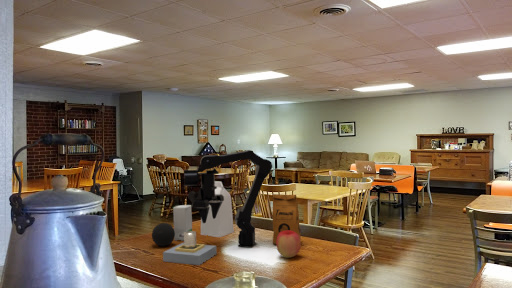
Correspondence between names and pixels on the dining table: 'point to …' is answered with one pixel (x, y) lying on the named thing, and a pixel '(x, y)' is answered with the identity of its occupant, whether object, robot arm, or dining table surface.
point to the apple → (288, 243)
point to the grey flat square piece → (189, 254)
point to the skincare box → (182, 220)
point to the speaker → (163, 234)
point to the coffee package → (285, 215)
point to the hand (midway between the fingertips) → (209, 220)
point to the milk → (219, 216)
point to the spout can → (189, 239)
